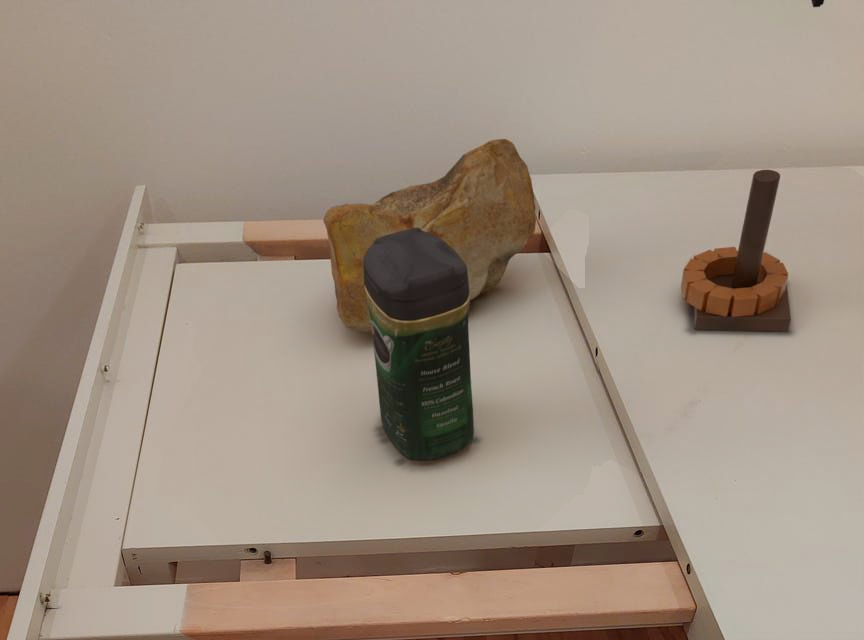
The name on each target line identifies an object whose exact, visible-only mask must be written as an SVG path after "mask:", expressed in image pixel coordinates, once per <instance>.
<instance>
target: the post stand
mask: <svg viewBox="0 0 864 640" xmlns="http://www.w3.org/2000/svg"><path fill="white" fill-rule="evenodd" d="M780 179H781V174H780V173H779V172H778V171H776V170H772V169H760V170H757V171H755V172H754V173H753V174H752V179H751V184H750V189H749V195H748V200H747V204H746V211H745V214H744V218H743V223H742V229H741V234H740V240H739V243H738V249H737V251H738V254H737V259H736V264H735V269H734V274H727V275H717V276H715V277H713V278H710V279H708V280H709V281H711V282H713V283H714V284H716V285H718V286H723V287H728V288H733V289H736V288H748V287H752V286H755V285H757V284H759V282H757V279H758V275H759V270H760V266H761V261H762V257H763V253H764V252H765V247H766V242H767V238H768V234H769V230H770V225H771V221H772V217H773V216H772V215H773V211H774V207H775V203H776V197H777V194H778V189H779V184H780ZM693 308H694V309H693V313H694V314H693V317H694V318H693V319H694V321H693V324H694V325H693V326H694V328H693V329H694V330H695V331H731V332H733V331H737V332H738V331H739V332H779V333H781V332H782V333H787V332H789V328H790V324H791V320H792V318H791V309H790V299H789V292H788V283H787V284H786V288H785V292H784V295H783V296H782V298H781V300H780V301H779V303H778V304H775V307H773V308H771V309H769V310H767V311H764V312H762V313H760V314H757V313H756V312H754V315H752V316H740V317H731V314H730V312H729V314H728V315H727V317H725V316H720V315H715V314H710V313H706V312H705V311H706V309H705V310H702V311H700V310H699V309H697V308H695V307H694V306H693Z"/></svg>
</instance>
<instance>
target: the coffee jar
mask: <svg viewBox="0 0 864 640" xmlns="http://www.w3.org/2000/svg"><path fill="white" fill-rule="evenodd" d="M363 268H364V285H365V292H366V297H367V303H368V308H369V313H370V320H371V327H372V334H371V335H372V342H373V343H372V344H373V352H374V353H373V354H374V361H375V370H376V372H375V373H376V382H377V389H378V390H377V393H378V403H379V414H380V421H381V424H382V428H383V430H384V432H385V434H386V436H387V438H388V439H389V441H390V442H391V444H392V445H393V446H394V448H395V449H396V450H397V451H398V452H399V454H401V456H403V458H404V459H407V460H409V461H413V462H433V461H434V462H435V461H440V460H443V459H447V458H450V457H451V456H454V455H456V454H458V453H459V452H461V451H463V450H465V449H466V448H467V447H468V446H469V445H470V444H471V443H472V442H473V439H474V436H475V425H474V424H475V422H474V404H473V403H474V402H473V390H472V375H471V355H470V353H471V351H470V334H469V333H470V332H469V315H470V314H469V313H470V312H469V311H470V302H471V300H470V293H469V282H468V273H467V267H466V264H465V263H464V261H463V260H462V259H461V257H460V256H459V255H458V254H457V253H456V252H455V251H454V250H453V249H452V248H451V247H450V246H449V245H448V244H447V243H446V242H445V241H444V240H442V239H441V238H439V237H437V236H435V235H433V234H430V233H428V232H425V231H422V230H421V229H420V228H417V227H416V228H412V229H407V230H403V231H399V232H396V233H392V234H388V235H385V236H382V237H379V238H376V240H375V241H374V243H373V244H372V245H371V246H370V248H369V249H368V250H367V252H366V254H365V257H364V262H363Z"/></svg>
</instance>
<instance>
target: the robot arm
mask: <svg viewBox="0 0 864 640" xmlns="http://www.w3.org/2000/svg"><path fill="white" fill-rule="evenodd" d="M824 2H825V0H811V4H812V7H813V8H820V7H821V6H823V5H824Z"/></svg>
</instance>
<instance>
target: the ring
mask: <svg viewBox="0 0 864 640" xmlns="http://www.w3.org/2000/svg"><path fill="white" fill-rule="evenodd" d="M737 254H738V249H737V248H736V246H727V247H716V248H715V247H714V249H713V250H712V249H708V250H706V251H703V252H700V253H697V254H695V255H693V258H690V259H689V260H688V262H687V263H686V265H685V266H684V268H683V271H682V277H681V283H680V284H681V285H680V290H681V291H680V292H681V294H682V296H683V299H684V300H686V303H687V304H688V305H691V306H692V307H693V308H694V307H695V308H697V309H699V310H700V311H702V310H705V309H706V311H705V312H706V313H710V314H715V315H720V316H725V317H727V315H728V314H729V312H730V314H731V317H740V316H752V315H754V312H756V313H757V314H760V313H762V312H764V311H767V310H769V309H771V308H773V307H775V304H778V303H779V301H780V300H781V298H782V296H783V295H784V292H785V288H786V284H787V285H788V281H789V280H788V279H789V272H788V270H787V268H786V266H785V264H784V262H781V260H780V259H779V258H777V257H775V256H773V255H771V254H769V252H765V251H764V252H763V257H762V261H761V266H760V270H759V275H758V279H757V282H759V284H757V285H755V286H752V287H748V288H736V289H733V288H728V287H723V286H718V285H716V284H714V283H713V282H711V281H709V280H708V279H710V278H713V277H715V276H717V275H727V274H734V269H735V264H736V259H737Z"/></svg>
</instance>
